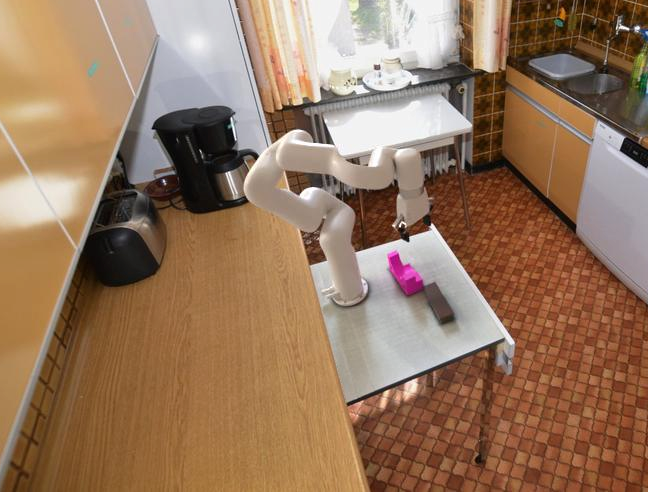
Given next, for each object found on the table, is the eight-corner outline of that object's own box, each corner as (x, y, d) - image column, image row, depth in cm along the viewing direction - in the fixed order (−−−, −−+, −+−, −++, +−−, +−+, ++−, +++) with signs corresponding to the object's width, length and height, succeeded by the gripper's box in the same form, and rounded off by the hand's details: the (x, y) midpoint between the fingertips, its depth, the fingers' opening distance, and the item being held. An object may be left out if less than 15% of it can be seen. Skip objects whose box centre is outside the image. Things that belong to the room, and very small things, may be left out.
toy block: (423, 288, 154) (421, 272, 150) (407, 295, 152) (405, 280, 148) (404, 262, 165) (402, 247, 161) (389, 268, 163) (387, 254, 159)
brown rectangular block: (422, 291, 153) (422, 286, 151) (435, 286, 154) (435, 281, 153) (440, 324, 141) (439, 318, 139) (454, 318, 142) (454, 313, 141)
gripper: (422, 171, 137) (427, 213, 146) (381, 197, 127) (388, 241, 136) (440, 179, 133) (443, 223, 142) (398, 207, 122) (405, 252, 132)
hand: (416, 232), depth 139 cm, fingers open, 9 cm apart
